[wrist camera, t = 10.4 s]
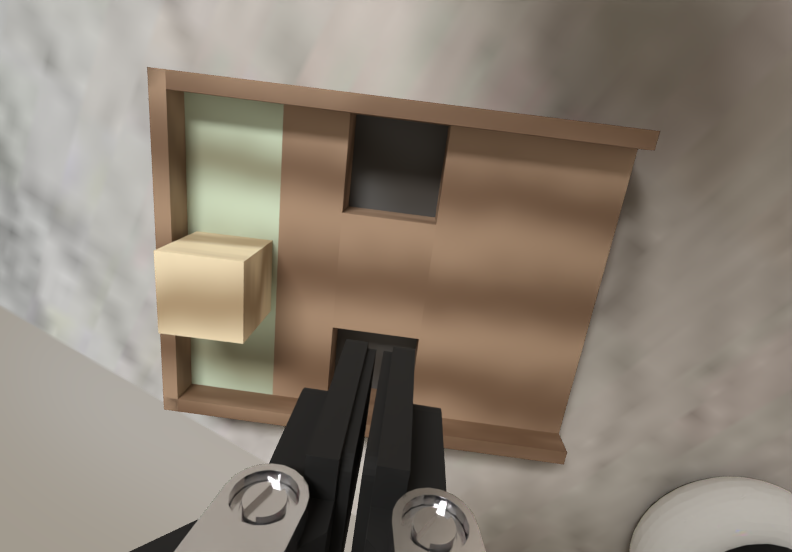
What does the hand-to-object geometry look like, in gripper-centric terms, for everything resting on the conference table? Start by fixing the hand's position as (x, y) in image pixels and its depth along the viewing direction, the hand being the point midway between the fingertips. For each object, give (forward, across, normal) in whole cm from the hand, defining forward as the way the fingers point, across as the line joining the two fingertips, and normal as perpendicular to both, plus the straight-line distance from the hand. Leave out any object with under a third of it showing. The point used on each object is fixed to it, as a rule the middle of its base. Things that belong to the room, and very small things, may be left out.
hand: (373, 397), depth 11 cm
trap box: (+22, +1, +4) cm, 22 cm away
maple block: (+19, +11, +5) cm, 22 cm away
